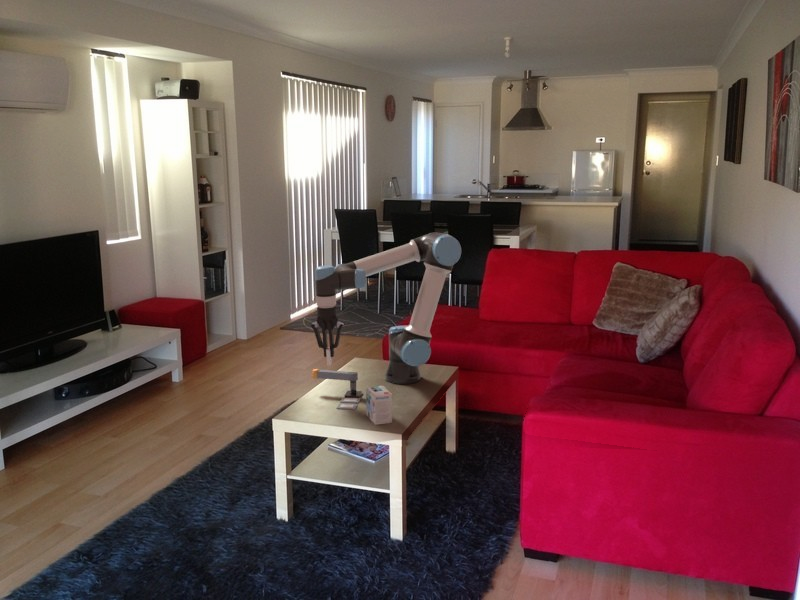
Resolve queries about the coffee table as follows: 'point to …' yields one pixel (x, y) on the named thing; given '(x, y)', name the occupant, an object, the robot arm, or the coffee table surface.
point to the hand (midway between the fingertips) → (329, 364)
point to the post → (353, 391)
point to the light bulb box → (379, 405)
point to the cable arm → (335, 375)
